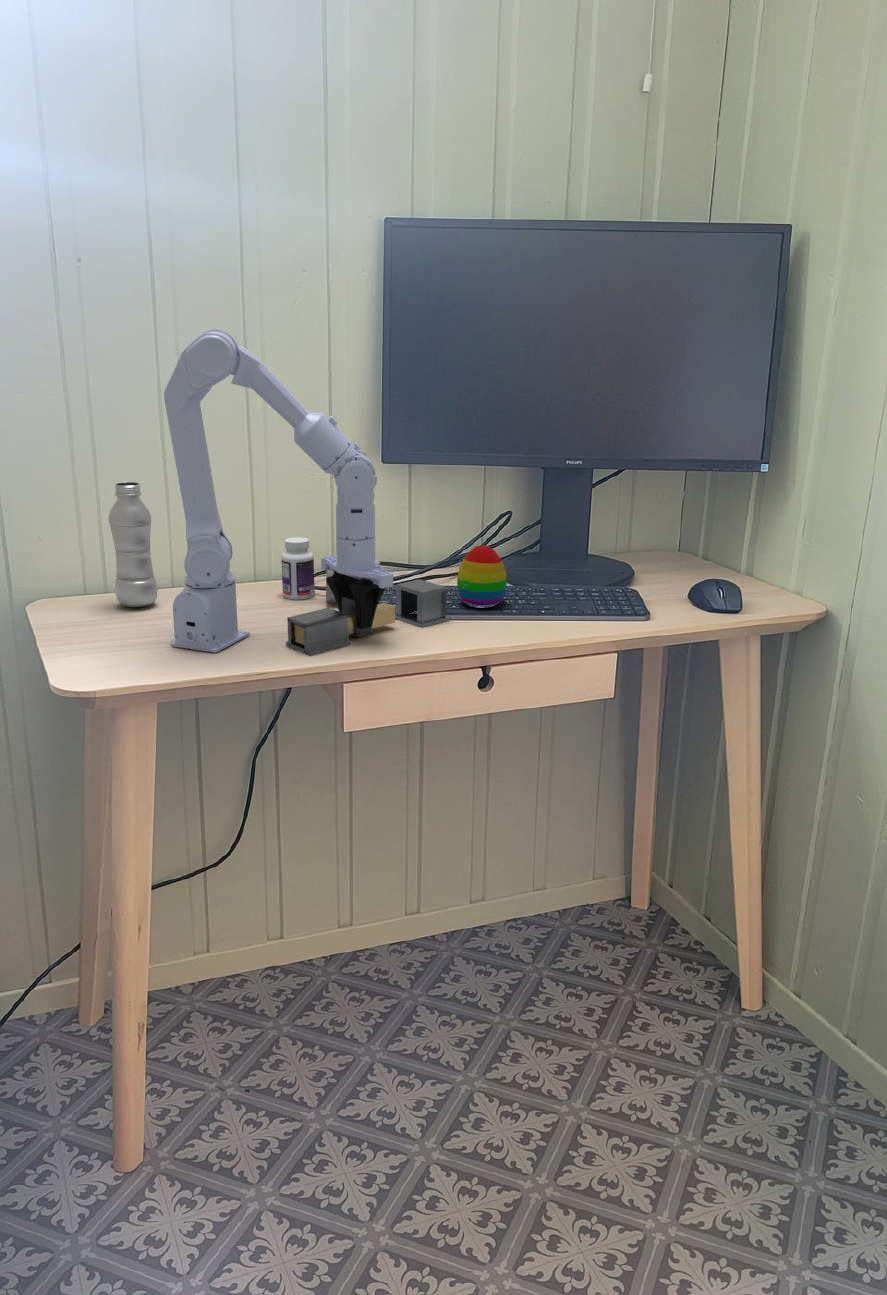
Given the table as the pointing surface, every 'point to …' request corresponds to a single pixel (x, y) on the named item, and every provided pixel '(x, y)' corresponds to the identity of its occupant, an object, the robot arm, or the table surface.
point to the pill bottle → (297, 569)
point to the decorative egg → (482, 577)
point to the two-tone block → (381, 618)
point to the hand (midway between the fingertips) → (356, 624)
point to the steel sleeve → (319, 631)
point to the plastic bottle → (132, 547)
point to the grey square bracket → (421, 603)
